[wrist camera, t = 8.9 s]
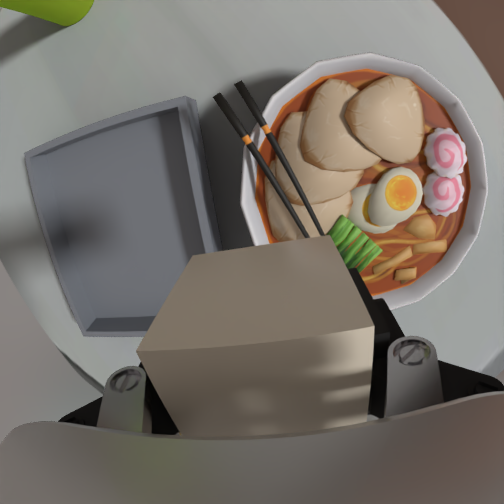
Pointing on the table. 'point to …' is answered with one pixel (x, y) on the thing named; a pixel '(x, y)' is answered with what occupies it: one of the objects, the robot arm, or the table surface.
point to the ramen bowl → (366, 171)
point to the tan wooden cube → (262, 342)
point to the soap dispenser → (51, 9)
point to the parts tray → (125, 212)
